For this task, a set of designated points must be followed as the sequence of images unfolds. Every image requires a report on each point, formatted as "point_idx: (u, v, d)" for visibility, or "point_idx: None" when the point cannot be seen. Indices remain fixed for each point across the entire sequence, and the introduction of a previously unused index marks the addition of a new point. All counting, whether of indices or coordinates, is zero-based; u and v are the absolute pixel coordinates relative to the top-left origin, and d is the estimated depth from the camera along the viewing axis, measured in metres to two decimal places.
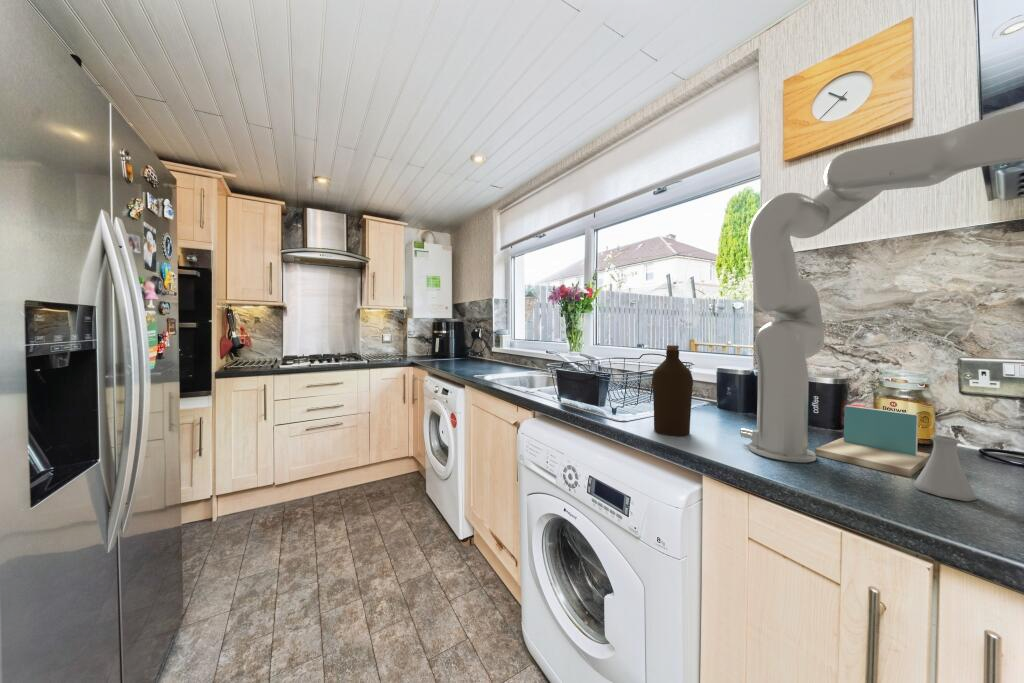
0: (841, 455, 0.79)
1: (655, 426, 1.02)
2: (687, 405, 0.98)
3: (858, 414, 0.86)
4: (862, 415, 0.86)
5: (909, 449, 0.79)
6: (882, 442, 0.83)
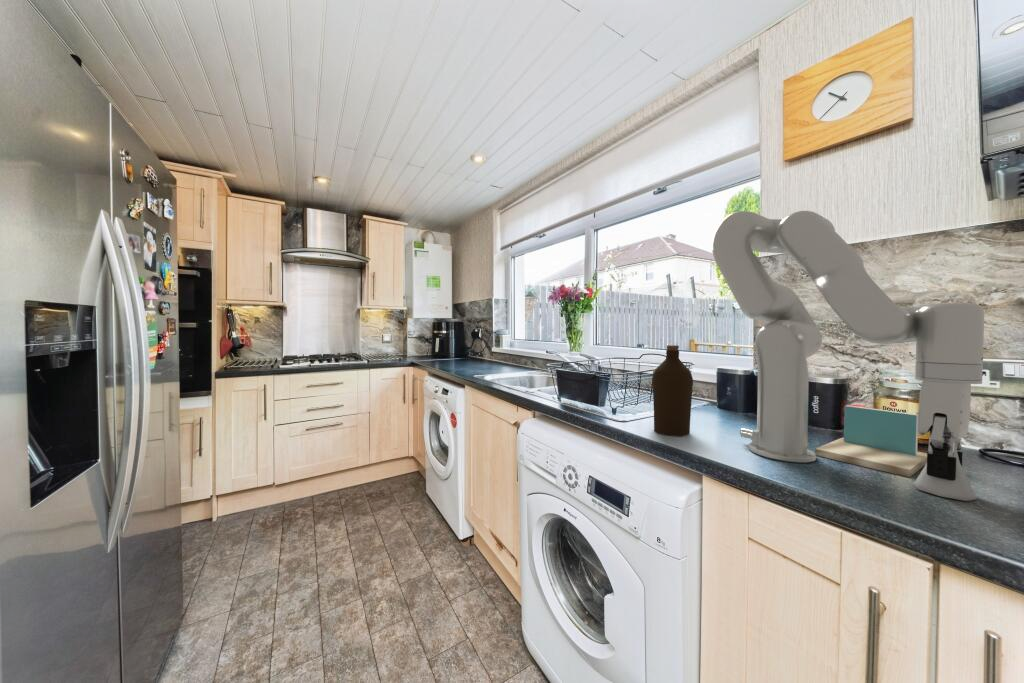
0: (841, 455, 0.79)
1: (655, 426, 1.02)
2: (687, 405, 0.98)
3: (858, 414, 0.86)
4: (862, 415, 0.86)
5: (909, 449, 0.79)
6: (882, 442, 0.83)
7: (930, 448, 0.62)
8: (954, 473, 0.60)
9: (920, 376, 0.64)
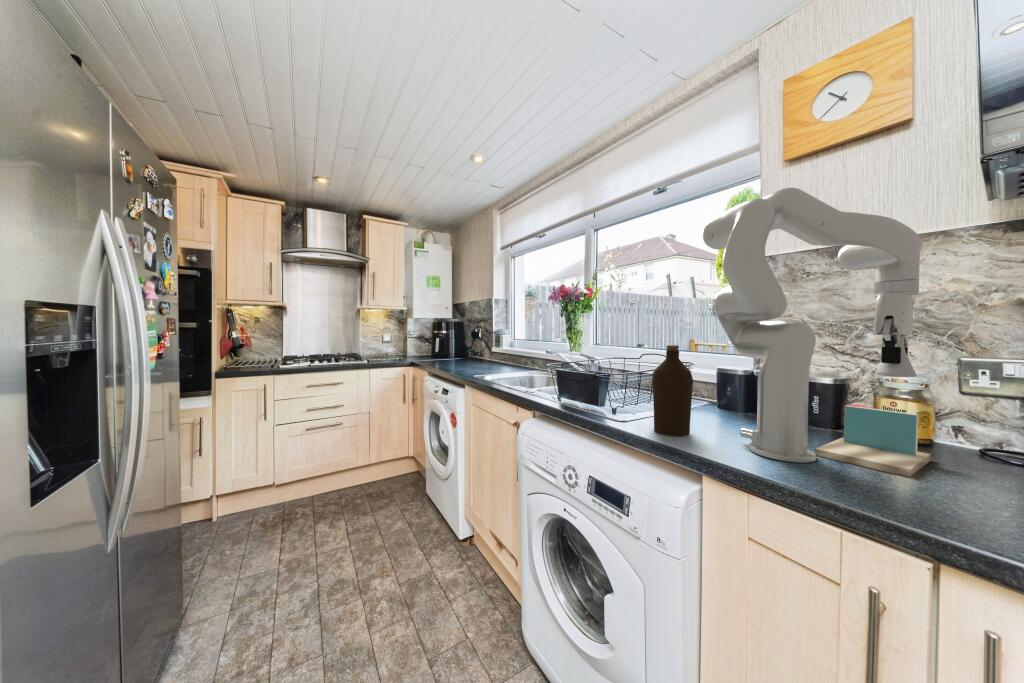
0: (841, 455, 0.79)
1: (655, 426, 1.02)
2: (687, 405, 0.98)
3: (858, 414, 0.86)
4: (862, 415, 0.86)
5: (909, 449, 0.79)
6: (882, 442, 0.83)
7: (883, 342, 0.87)
8: (899, 358, 0.85)
9: (877, 293, 0.89)
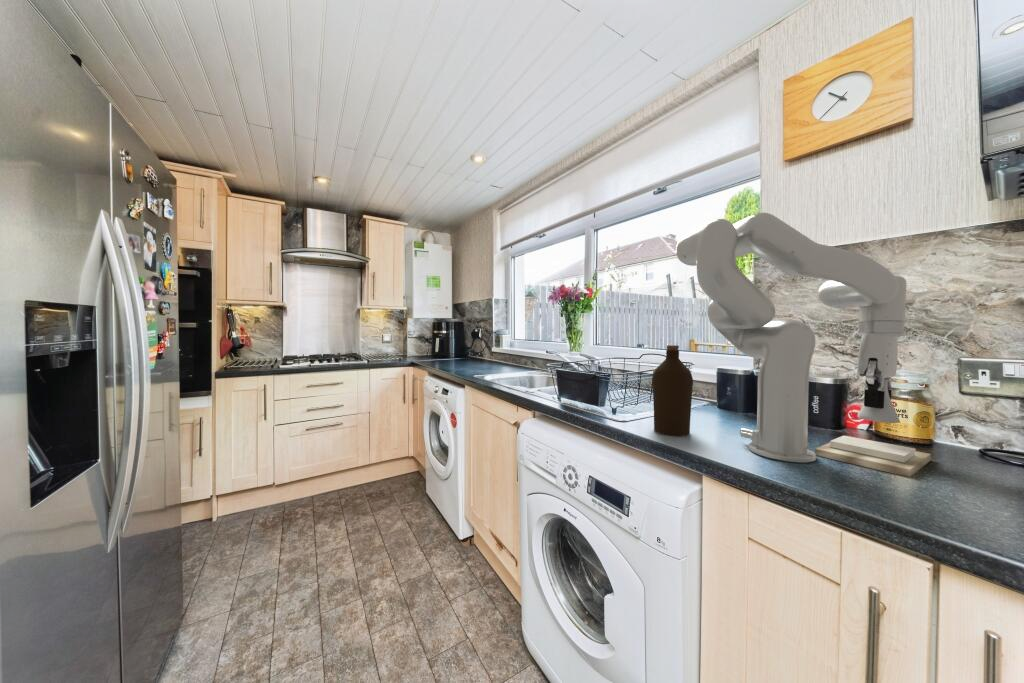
0: (841, 455, 0.79)
1: (655, 426, 1.02)
2: (687, 405, 0.98)
3: None
4: None
5: None
6: None
7: (866, 385, 0.82)
8: (882, 403, 0.81)
9: (861, 332, 0.84)
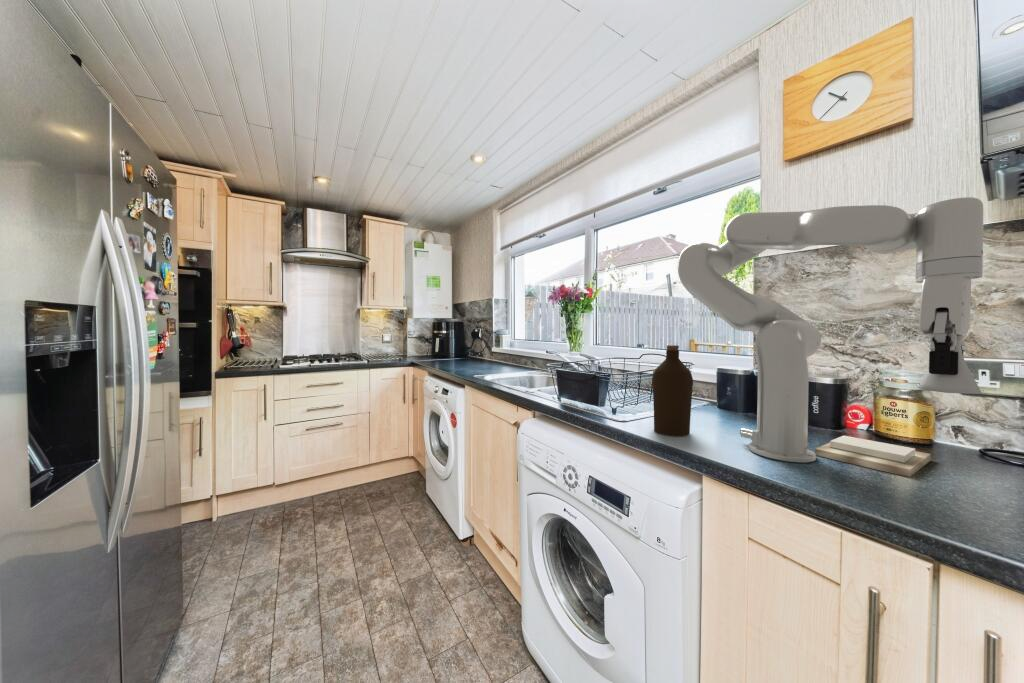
0: (841, 455, 0.79)
1: (655, 426, 1.02)
2: (687, 405, 0.98)
3: None
4: None
5: None
6: None
7: (932, 345, 0.62)
8: (956, 367, 0.60)
9: (921, 276, 0.64)
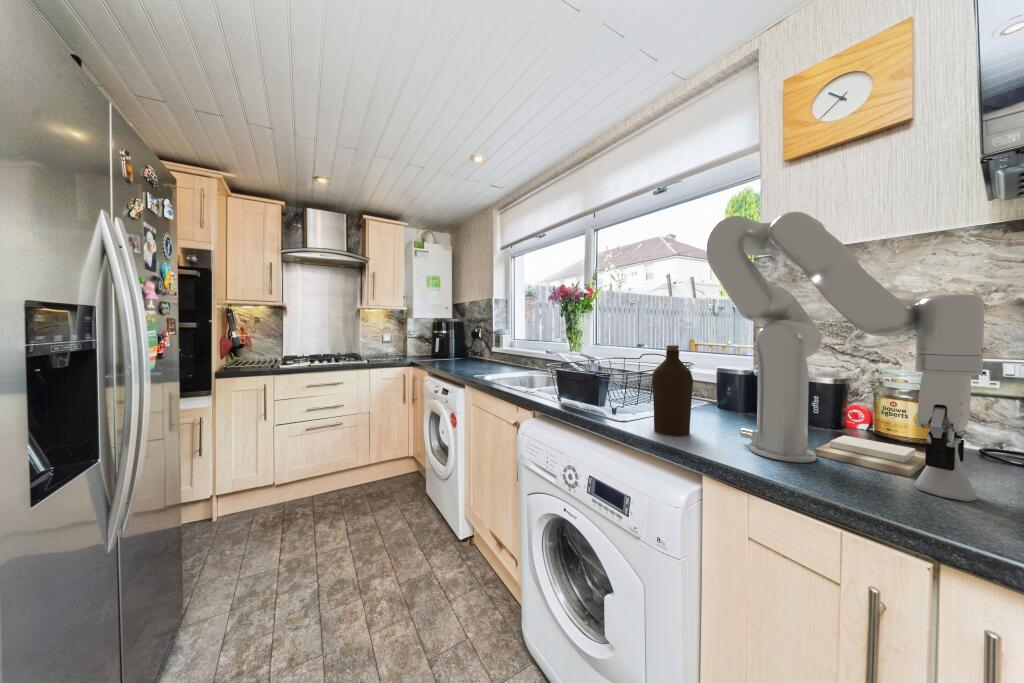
0: (841, 455, 0.79)
1: (655, 426, 1.02)
2: (687, 405, 0.98)
3: None
4: None
5: None
6: None
7: (928, 437, 0.61)
8: (953, 463, 0.60)
9: (920, 368, 0.64)
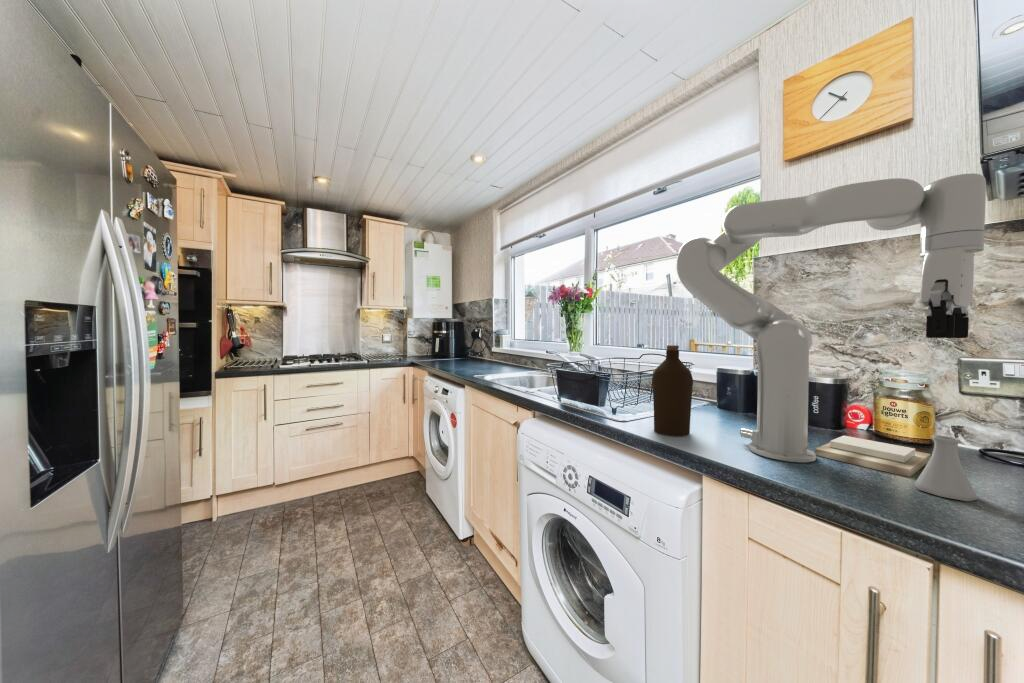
0: (841, 455, 0.79)
1: (655, 426, 1.02)
2: (687, 405, 0.98)
3: None
4: None
5: None
6: None
7: (929, 309, 0.64)
8: (952, 330, 0.62)
9: (923, 251, 0.67)
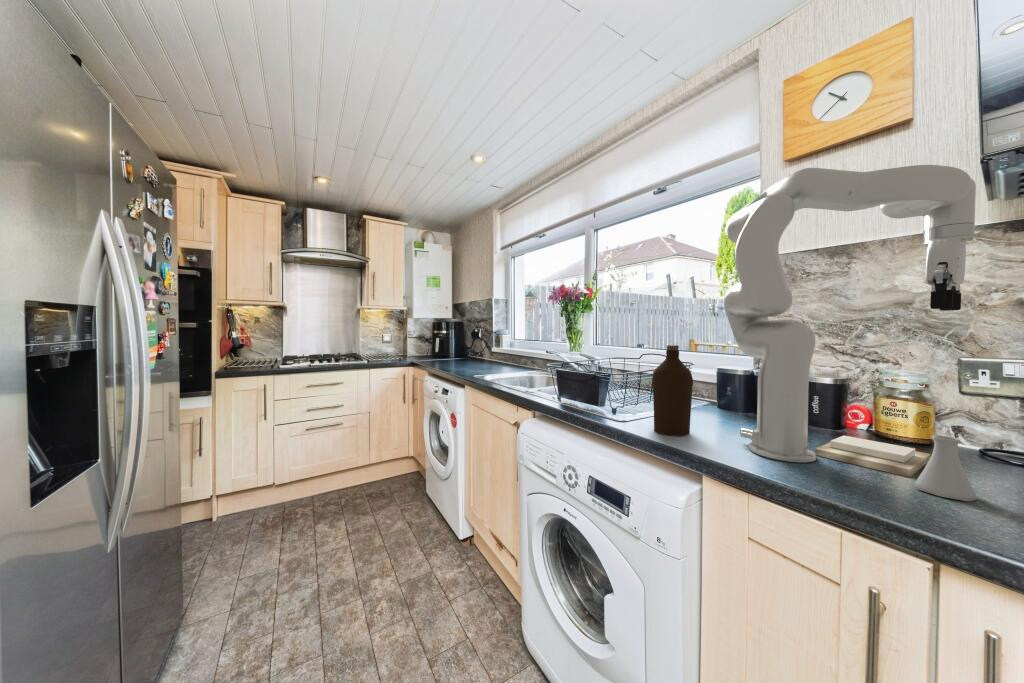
0: (841, 455, 0.79)
1: (655, 426, 1.02)
2: (687, 405, 0.98)
3: None
4: None
5: None
6: None
7: (933, 285, 0.81)
8: (951, 302, 0.79)
9: (927, 240, 0.84)
